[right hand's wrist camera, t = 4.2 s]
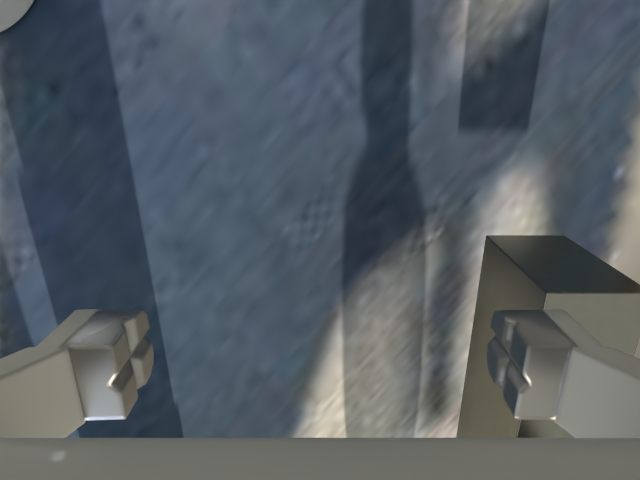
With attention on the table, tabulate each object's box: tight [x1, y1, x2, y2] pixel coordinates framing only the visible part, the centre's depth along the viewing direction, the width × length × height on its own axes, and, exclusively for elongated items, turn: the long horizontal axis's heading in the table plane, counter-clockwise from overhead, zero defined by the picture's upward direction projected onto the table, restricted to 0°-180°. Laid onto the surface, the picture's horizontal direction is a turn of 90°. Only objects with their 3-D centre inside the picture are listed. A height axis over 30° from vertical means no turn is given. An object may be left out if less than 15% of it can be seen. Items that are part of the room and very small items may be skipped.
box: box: [456, 236, 640, 438], centre depth 32 cm, size 23×6×9 cm, turn 0°
